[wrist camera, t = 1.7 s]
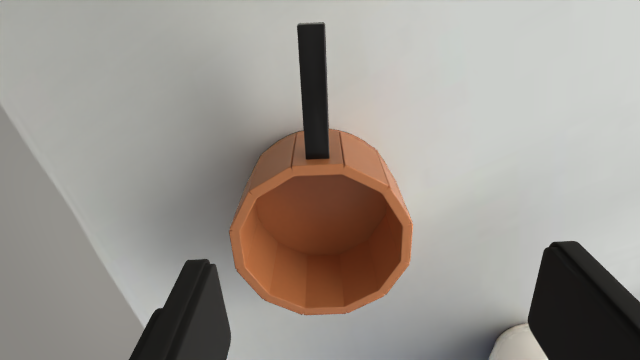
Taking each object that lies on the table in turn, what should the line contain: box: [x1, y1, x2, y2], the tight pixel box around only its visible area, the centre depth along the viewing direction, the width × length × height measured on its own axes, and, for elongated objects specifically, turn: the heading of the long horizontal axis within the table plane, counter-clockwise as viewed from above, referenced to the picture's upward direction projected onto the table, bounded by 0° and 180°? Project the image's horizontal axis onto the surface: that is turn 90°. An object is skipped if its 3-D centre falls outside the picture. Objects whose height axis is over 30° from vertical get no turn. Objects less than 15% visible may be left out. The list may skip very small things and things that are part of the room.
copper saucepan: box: [229, 22, 413, 315], centre depth 27 cm, size 20×12×7 cm, turn 2°
